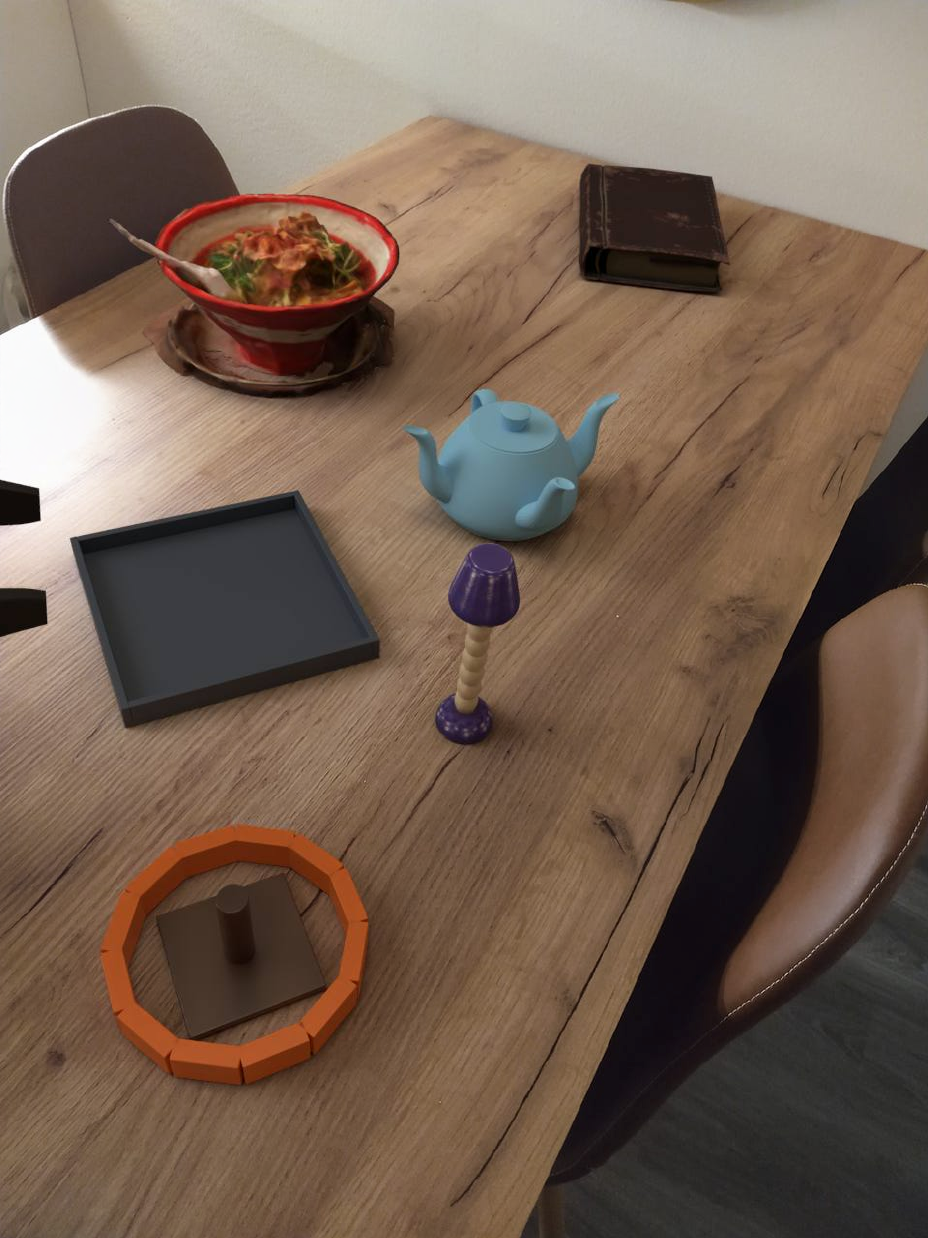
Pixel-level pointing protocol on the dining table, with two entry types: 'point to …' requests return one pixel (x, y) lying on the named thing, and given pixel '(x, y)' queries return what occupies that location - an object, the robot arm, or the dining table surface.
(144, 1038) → the ring
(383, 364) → the stew
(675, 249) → the diary
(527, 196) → the dining table surface
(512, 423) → the teapot
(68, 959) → the dining table surface
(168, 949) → the stand
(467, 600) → the toy lamp
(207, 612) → the tray
